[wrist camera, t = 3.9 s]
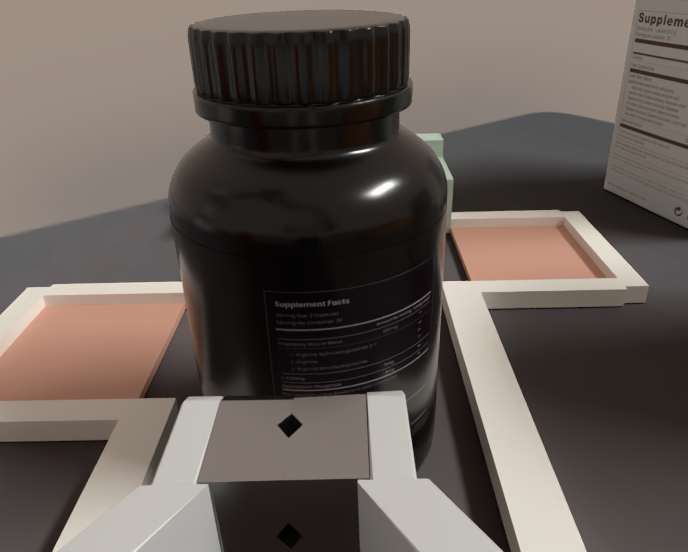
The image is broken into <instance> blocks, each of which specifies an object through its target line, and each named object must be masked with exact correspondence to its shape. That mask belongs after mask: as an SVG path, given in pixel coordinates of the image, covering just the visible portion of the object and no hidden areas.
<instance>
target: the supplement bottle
mask: <svg viewBox="0 0 688 552" xmlns="http://www.w3.org/2000/svg"><path fill="white" fill-rule="evenodd" d="M188 42H189V49H190V56H191V64H192V70H193V77H194V83H195V88H194V89H193V98H194V104H195V111H196V113H197V114H198V115H199V116H200V117H202V118H204V119H206V120H208V121H209V124H210V134H209V135H207V136H206V137H205V138H203V139H202V140H200V141H199V142H198V143H197V144H195V145H194V146H193V147H192V148H191V149H190V150H189V151H188V152H187V153H186V154H185V155H184V156H183V158H182V159H181V160H180V162H179V163H178V165H177V167H176V169H175V171H174V174H173V176H172V179H171V182H170V186H169V192H168V203H169V210H170V219H171V225H172V230H173V236H174V242H175V247H176V253H177V258H178V264H179V269H180V275H181V280H182V286H183V292H184V297H185V303H186V308H187V314H188V319H189V325H190V330H191V336H192V341H193V347H194V352H195V358H196V364H197V369H198V375H199V380H200V386H201V391H202V396H222V397H224V396H276V395H295V396H305V395H336V394H366V397H367V392H383V391H401V390H402V391H403V393H404V394H405V398H406V405H407V412H408V419H409V426H410V433H411V440H412V448H413V455H414V462H415V469H416V472H417V471H418V470H419V468H420V467H421V465H422V464H423V462H424V460H425V458H426V456H427V454H428V452H429V449H430V446H431V443H432V438H433V432H434V423H435V410H436V393H437V376H438V358H439V341H440V324H441V307H442V289H443V272H444V255H445V238H446V220H447V192H448V190H447V178H446V174H445V171H444V169H443V166H442V164H441V162H440V161H439V159H438V157H437V155H436V154H435V152H434V151H433V150H432V148H431V147H430V146H429V145H428V144H427V143H426V142H425V141H424V140H423V139H421V138H420V137H419V136H417V135H416V134H415V133H413V132H411V131H410V130H408V129H407V128H405V127H403V126H401V125H400V124H399V112H401V111H403V110H405V109H406V108H407V107H409V106H410V104H411V103H412V92H413V81H412V80H411V78H410V77H409V52H410V50H409V49H410V25H409V20H408V18H407V17H406V16H402V15H400V14H393V13H387V12H377V11H361V10H360V11H359V10H302V11H280V12H264V13H251V14H241V15H233V16H226V17H219V18H213V19H208V20H204V21H200V22H196V23H195V24H191V25H190V26H189V28H188Z"/></svg>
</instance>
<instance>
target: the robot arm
mask: <svg viewBox="0 0 688 552" xmlns="http://www.w3.org/2000/svg"><path fill="white" fill-rule="evenodd" d="M57 552H503V551H502V550H501V549H500V548H499V547H498V546H497V545H496V544H495V543H494V542H493V541H492V540H491V539H490V538H489V537H488V536H487V535H486V534H485V533H484V532H483V531H482V530H481V529H480V528H479V527H478V526H477V525H476V524H475V523H474V522H472V521H471V520H470V519H469V518H468V517H467V516H466V515H465V514H464V513H463V512H462V511H461V510H460V509H459V508H458V507H457V506H456V505H455V504H454V503H453V502H452V501H451V500H450V499H449V498H448V497H447V496H446V495H445V494H444V493H443V492H442V491H441V490H440V489H439V488H438V487H437V486H436V485H434V484H433V483H432V482H431V481H430V480H429V479H417V476H416V469H415V462H414V455H413V448H412V440H411V433H410V426H409V419H408V412H407V405H406V398H405V394H404V393H403V391H402V390H401V391H383V392H367V397H366V394H336V395H305V396H295V395H276V396H224V397H222V396H199V397H188V398H187V399H186V400H185V401H184V402H183V403H182V405H181V407H180V410H179V412H178V415H177V418H176V420H175V423H174V426H173V428H172V431H171V433H170V436H169V439H168V441H167V444H166V446H165V449H164V452H163V454H162V457H161V460H160V462H159V465H158V467H157V470H156V473H155V475H154V478H153V480H152V483H151V485H145V486H138V487H137V488H136V489H134V490H133V491H132V492H131V493H129V494H128V495H127V496H126V497H124V498H123V499H122V500H121V501H119V502H118V503H117V504H116V505H114V506H113V507H112V508H111V509H109V510H108V511H107V512H106V513H104V514H103V515H102V516H101V517H99V518H98V519H97V520H96V521H94V522H93V523H92V524H91V525H89V526H88V527H87V528H86V529H84V530H83V531H82V532H81V533H79V534H78V535H77V536H76V537H74V538H73V539H72V540H71V541H69V542H68V543H67V544H66V545H64V546H63V547H62V548H61V549H59V550H58V551H57Z"/></svg>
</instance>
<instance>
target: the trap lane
mask: <svg viewBox="0 0 688 552" xmlns="http://www.w3.org/2000/svg"><path fill="white" fill-rule="evenodd" d="M416 135H417V136H419V137H420V138H421V139H423V140H424V141H425V142H426V143H427V144H428V145H429V146H430V147H431V148H432V150H433V151H434V152H435V154H436V155H437V157H438V159H439V161H440V162H441V164H442V166H443V169H444V171H445V174H446V178H447V190H448V192H447V220H446V233H451V236H452V239H453V241H454V244H455V246H456V249H457V252H458V254H459V257H460V260H461V262H462V265H463V267H464V270H465V273H466V275H467V278H468V280H469V281H448V282H443V289H442V306H443V309H444V313H445V317H446V320H447V324H448V327H449V331H450V335H451V338H452V342H453V345H454V349H455V353H456V356H457V360H458V363H459V367H460V370H461V374H462V378H463V381H464V385H465V388H466V392H467V396H468V399H469V403H470V406H471V410H472V414H473V417H474V421H475V424H476V428H477V432H478V435H479V439H480V442H481V446H482V450H483V453H484V457H485V460H486V464H487V468H488V471H489V475H490V478H491V482H492V485H493V489H494V493H495V496H496V500H497V503H498V507H499V511H500V514H501V518H502V521H503V525H504V529H505V532H506V536H507V539H508V543H509V547H510V550H511V552H587V551H586V549H585V546H584V544H583V542H582V539H581V537H580V534H579V532H578V529H577V527H576V524H575V522H574V519H573V517H572V515H571V512H570V510H569V507H568V505H567V502H566V500H565V497H564V495H563V492H562V490H561V488H560V485H559V483H558V480H557V478H556V475H555V473H554V470H553V468H552V465H551V463H550V461H549V458H548V456H547V453H546V451H545V448H544V446H543V443H542V441H541V438H540V436H539V434H538V431H537V429H536V426H535V424H534V421H533V419H532V416H531V414H530V411H529V409H528V407H527V404H526V402H525V399H524V397H523V394H522V392H521V389H520V387H519V384H518V382H517V380H516V377H515V375H514V372H513V370H512V367H511V365H510V362H509V360H508V357H507V355H506V353H505V350H504V348H503V345H502V343H501V340H500V338H499V335H498V333H497V330H496V328H495V326H494V323H493V321H492V318H491V316H490V313H489V311H488V309H501V308H551V307H601V306H624V303H645V301H646V297H647V293H648V288H649V285H648V284H647V283H646V282H645V281H644V280H643V279H642V278H641V277H640V276H639V275H638V274H637V272H636V271H635V270H634V269H633V268H632V267H631V266H630V265H629V264H628V263H627V262H626V261H625V260H624V259H623V258H622V256H621V255H620V254H619V253H618V252H617V251H616V250H615V249H614V248H613V247H612V246H611V245H610V244H609V243H608V242H607V241H606V239H605V238H604V237H603V236H602V235H601V234H600V233H599V232H598V231H597V230H596V229H595V228H594V227H593V226H592V225H591V224H590V222H589V221H588V220H587V219H586V218H585V217H584V216H583V215H582V214H581V213H580V212H579V211H562V212H560V211H559V210H531V211H487V212H452V198H453V181H454V179H453V177H452V175H451V173H450V171H449V169H448V167H447V165H446V163H445V161H444V159H443V141H444V140H443V138H442V136H441V135H440V133H439V134H416ZM185 309H187V308H186V303H185V297H184V292H183V286H182V282H142V283H94V284H53V285H52V286H51V287H30V288H27V289H26V290H25V291H24V292H23V293H22V294H21V295H20V296H19V297H18V298H17V299H16V300H15V301H14V302H13V303H12V304H11V305H10V306H9V307H8V308H7V309H6V310H5V311H4V312H3V313H2V314H1V315H0V442H14V441H75V440H108V442H107V444H106V446H105V448H104V450H103V452H102V454H101V456H100V458H99V460H98V462H97V464H96V466H95V468H94V470H93V472H92V474H91V476H90V478H89V480H88V482H87V484H86V486H85V488H84V490H83V492H82V494H81V496H80V498H79V500H78V502H77V504H76V506H75V508H74V510H73V512H72V514H71V516H70V518H69V520H68V522H67V523H66V525H65V527H64V529H63V531H62V533H61V535H60V537H59V539H58V541H57V543H56V545H55V547H54V549H53V551H52V552H57V551H58V550H59V549H61V548H62V547H63V546H64V545H66V544H67V543H68V542H69V541H71V540H72V539H73V538H74V537H76V536H77V535H78V534H79V533H81V532H82V531H83V530H84V529H86V528H87V527H88V526H89V525H91V524H92V523H93V522H94V521H96V520H97V519H98V518H99V517H101V516H102V515H103V514H104V513H106V512H107V511H108V510H109V509H111V508H112V507H113V506H114V505H116V504H117V503H118V502H119V501H121V500H122V499H123V498H124V497H126V496H127V495H128V494H129V493H131V492H132V491H133V490H134V489H136V488H137V487H138V486H145V485H151V483H152V480H153V478H154V475H155V473H156V470H157V467H158V465H159V462H160V460H161V457H162V454H163V452H164V449H165V446H166V444H167V441H168V439H169V436H170V433H171V431H172V428H173V426H174V423H175V420H176V418H177V415H178V412H179V411H178V406H177V401H176V398H144V396H145V394H146V392H147V390H148V388H149V385H150V383H151V381H152V379H153V377H154V375H155V373H156V371H157V368H158V366H159V364H160V362H161V360H162V358H163V356H164V354H165V352H166V349H167V347H168V345H169V343H170V341H171V339H172V337H173V335H174V332H175V330H176V328H177V326H178V324H179V322H180V320H181V318H182V315H183V313H184V311H185Z"/></svg>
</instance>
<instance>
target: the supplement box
mask: <svg viewBox="0 0 688 552" xmlns="http://www.w3.org/2000/svg"><path fill="white" fill-rule="evenodd" d="M604 189H606V190H608V191H610V192H612V193H614V194H616V195H618V196H621V197H623V198H625V199H627V200H629V201H631V202H633V203H635V204H637V205H639V206H641V207H643V208H645V209H647V210H649V211H652V212H654V213H656V214H658V215H660V216H662V217H664V218H666V219H668V220H670V221H672V222H675V223H677V224H679V225H681V226H683V227H685V228H687V229H688V0H636V5H635V10H634V16H633V22H632V28H631V33H630V39H629V45H628V50H627V56H626V62H625V67H624V73H623V79H622V85H621V91H620V96H619V102H618V108H617V113H616V119H615V125H614V131H613V137H612V142H611V148H610V154H609V160H608V166H607V171H606V177H605V183H604Z"/></svg>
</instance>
